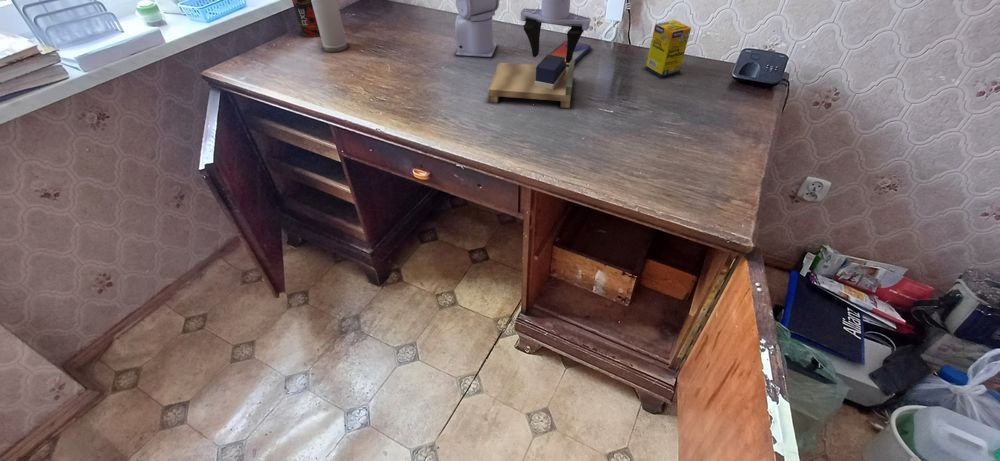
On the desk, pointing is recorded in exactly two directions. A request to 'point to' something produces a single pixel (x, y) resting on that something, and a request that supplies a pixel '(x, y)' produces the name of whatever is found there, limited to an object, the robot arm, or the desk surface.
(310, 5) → the deodorant
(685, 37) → the supplement box
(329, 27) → the travel mug
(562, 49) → the smartphone
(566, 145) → the desk surface
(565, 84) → the shelf
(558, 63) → the white-based navy block
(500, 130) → the desk surface
